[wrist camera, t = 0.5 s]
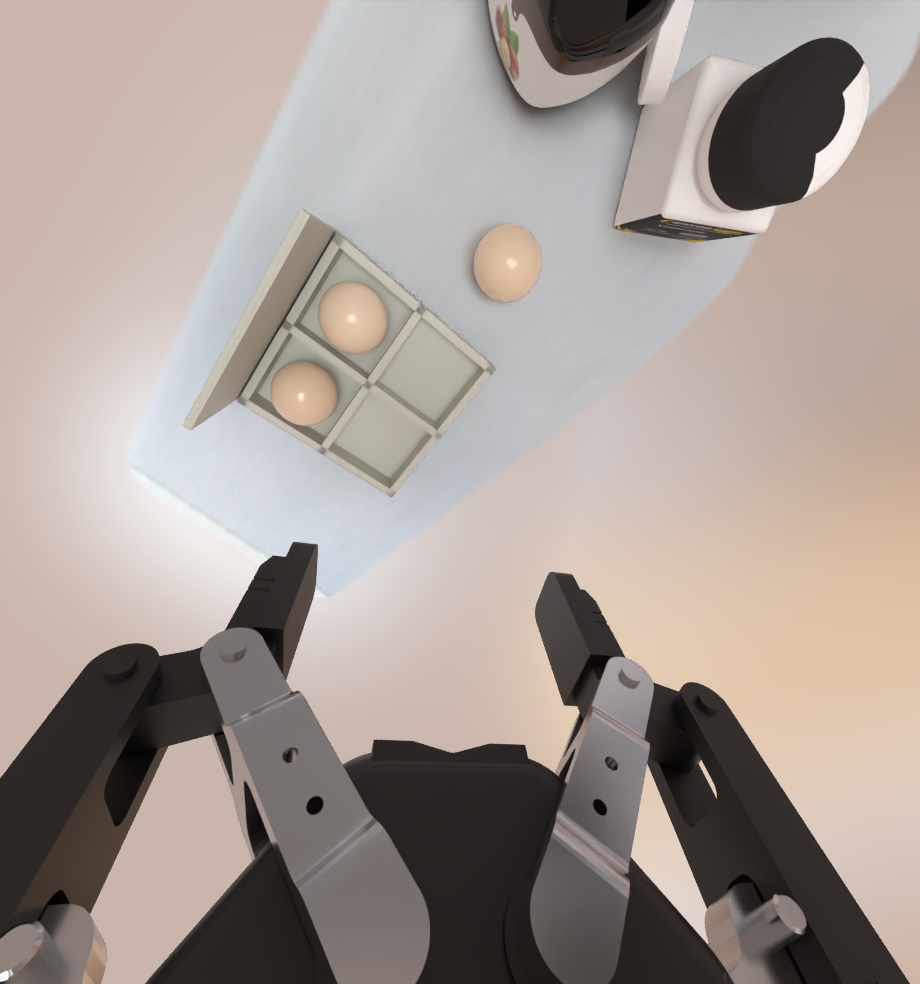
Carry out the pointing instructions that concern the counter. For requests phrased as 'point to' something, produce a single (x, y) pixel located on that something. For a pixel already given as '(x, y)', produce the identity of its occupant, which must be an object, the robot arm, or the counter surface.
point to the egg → (507, 262)
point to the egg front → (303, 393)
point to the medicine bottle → (743, 142)
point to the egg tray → (347, 361)
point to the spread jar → (587, 45)
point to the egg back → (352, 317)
